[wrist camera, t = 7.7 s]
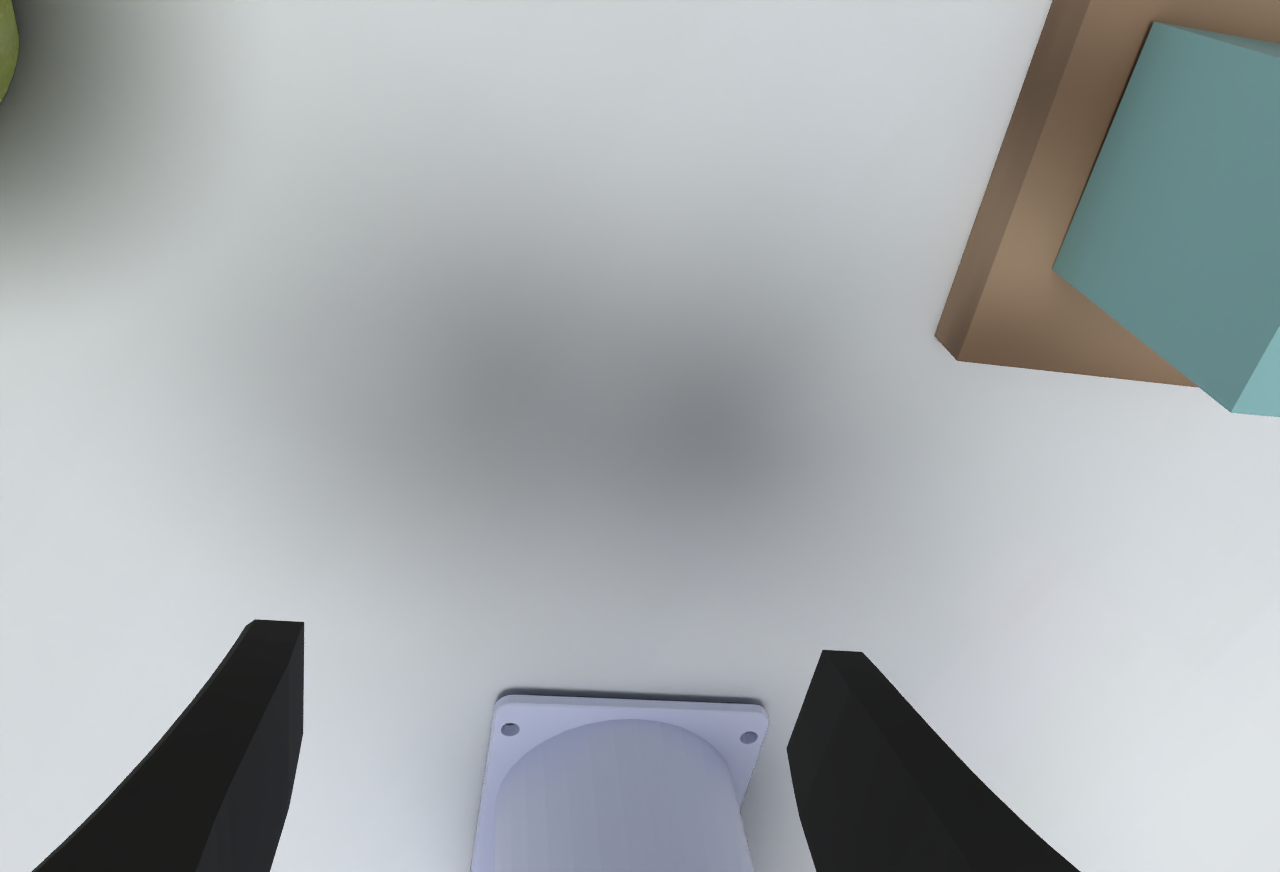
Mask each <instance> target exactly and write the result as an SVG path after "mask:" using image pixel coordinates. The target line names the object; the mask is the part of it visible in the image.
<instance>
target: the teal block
mask: <svg viewBox="0 0 1280 872" xmlns="http://www.w3.org/2000/svg"><path fill="white" fill-rule="evenodd" d="M1052 270H1053V271H1054V272H1056V273H1057V274H1058V275H1059V276H1061V277H1062V278H1063V279H1064V280H1066V281H1067V282H1068V283H1069V284H1071V285H1072V286H1073V287H1074V288H1076V289H1077V290H1078V291H1079V292H1081V293H1082V294H1083V295H1084V296H1086V297H1087V298H1088V299H1089V300H1091V301H1092V302H1093V303H1094V304H1096V305H1097V306H1098V307H1099V308H1101V309H1102V310H1103V311H1104V312H1106V313H1107V314H1108V315H1109V316H1111V317H1112V318H1113V319H1114V320H1116V321H1117V322H1118V323H1119V324H1121V325H1122V326H1123V327H1124V328H1126V329H1127V330H1128V331H1129V332H1131V333H1132V334H1133V335H1134V336H1136V337H1137V338H1138V339H1139V340H1141V341H1142V342H1143V343H1144V344H1146V345H1147V346H1148V347H1149V348H1151V349H1152V350H1153V351H1154V352H1156V353H1157V354H1158V355H1159V356H1161V357H1162V358H1163V359H1164V360H1166V361H1167V362H1168V363H1169V364H1171V365H1172V366H1173V367H1174V368H1176V369H1177V370H1178V371H1179V372H1181V373H1182V374H1183V375H1184V376H1186V377H1187V378H1188V379H1189V380H1191V381H1192V382H1193V383H1194V384H1196V385H1197V386H1198V387H1199V388H1201V389H1202V390H1203V391H1204V392H1206V393H1207V394H1208V395H1209V396H1211V397H1212V398H1213V399H1214V400H1216V401H1217V402H1218V403H1219V404H1221V405H1222V406H1223V407H1224V408H1226V409H1227V410H1228V411H1229V412H1231V413H1241V414H1252V415H1263V416H1274V417H1280V44H1279V43H1274V42H1268V41H1262V40H1257V39H1251V38H1245V37H1239V36H1234V35H1228V34H1222V33H1217V32H1211V31H1205V30H1200V29H1194V28H1188V27H1183V26H1177V25H1171V24H1166V23H1160V22H1153V25H1152V27H1151V30H1150V32H1149V35H1148V37H1147V39H1146V42H1145V44H1144V47H1143V49H1142V52H1141V54H1140V56H1139V59H1138V61H1137V64H1136V66H1135V69H1134V71H1133V73H1132V76H1131V78H1130V81H1129V83H1128V86H1127V88H1126V91H1125V93H1124V95H1123V98H1122V100H1121V103H1120V105H1119V108H1118V110H1117V112H1116V115H1115V117H1114V120H1113V122H1112V125H1111V127H1110V130H1109V132H1108V134H1107V137H1106V139H1105V142H1104V144H1103V147H1102V149H1101V151H1100V154H1099V156H1098V159H1097V161H1096V164H1095V166H1094V168H1093V171H1092V173H1091V176H1090V178H1089V181H1088V183H1087V186H1086V188H1085V190H1084V193H1083V195H1082V198H1081V200H1080V203H1079V205H1078V207H1077V210H1076V212H1075V215H1074V217H1073V220H1072V222H1071V224H1070V227H1069V229H1068V232H1067V234H1066V237H1065V239H1064V242H1063V244H1062V246H1061V249H1060V251H1059V254H1058V256H1057V259H1056V261H1055V263H1054V266H1053V268H1052Z"/></svg>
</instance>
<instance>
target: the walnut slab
mask: <svg viewBox="0 0 1280 872" xmlns="http://www.w3.org/2000/svg"><path fill="white" fill-rule="evenodd" d="M1153 22H1160V23H1166V24H1171V25H1177V26H1183V27H1188V28H1194V29H1200V30H1205V31H1211V32H1217V33H1222V34H1228V35H1234V36H1239V37H1245V38H1251V39H1257V40H1262V41H1268V42H1274V43H1279V44H1280V0H1053V1H1052V4H1051V7H1050V10H1049V13H1048V15H1047V18H1046V21H1045V24H1044V27H1043V30H1042V32H1041V35H1040V38H1039V41H1038V44H1037V47H1036V49H1035V52H1034V55H1033V58H1032V61H1031V64H1030V66H1029V69H1028V72H1027V75H1026V78H1025V81H1024V83H1023V86H1022V89H1021V92H1020V95H1019V98H1018V100H1017V103H1016V106H1015V109H1014V112H1013V115H1012V117H1011V120H1010V123H1009V126H1008V129H1007V132H1006V134H1005V137H1004V140H1003V143H1002V146H1001V149H1000V151H999V154H998V157H997V160H996V163H995V165H994V168H993V171H992V174H991V177H990V180H989V182H988V185H987V188H986V191H985V194H984V197H983V199H982V202H981V205H980V208H979V211H978V214H977V216H976V219H975V222H974V225H973V228H972V231H971V233H970V236H969V239H968V242H967V245H966V248H965V250H964V253H963V256H962V259H961V262H960V265H959V267H958V270H957V273H956V276H955V279H954V282H953V284H952V287H951V290H950V293H949V296H948V299H947V301H946V304H945V307H944V310H943V313H942V315H941V318H940V321H939V324H938V327H937V330H936V332H935V335H934V336H935V337H936V338H937V339H938V340H939V341H940V342H941V344H942V345H943V346H944V347H945V348H946V349H947V350H948V351H949V352H950V353H951V355H952V356H953V357H954V358H955V359H956V360H957V361H963V362H973V363H982V364H991V365H1000V366H1009V367H1018V368H1027V369H1036V370H1045V371H1054V372H1063V373H1073V374H1082V375H1091V376H1100V377H1109V378H1118V379H1127V380H1136V381H1145V382H1154V383H1163V384H1173V385H1182V386H1191V387H1198V386H1197V385H1196V384H1194V383H1193V382H1192V381H1191V380H1189V379H1188V378H1187V377H1186V376H1184V375H1183V374H1182V373H1181V372H1179V371H1178V370H1177V369H1176V368H1174V367H1173V366H1172V365H1171V364H1169V363H1168V362H1167V361H1166V360H1164V359H1163V358H1162V357H1161V356H1159V355H1158V354H1157V353H1156V352H1154V351H1153V350H1152V349H1151V348H1149V347H1148V346H1147V345H1146V344H1144V343H1143V342H1142V341H1141V340H1139V339H1138V338H1137V337H1136V336H1134V335H1133V334H1132V333H1131V332H1129V331H1128V330H1127V329H1126V328H1124V327H1123V326H1122V325H1121V324H1119V323H1118V322H1117V321H1116V320H1114V319H1113V318H1112V317H1111V316H1109V315H1108V314H1107V313H1106V312H1104V311H1103V310H1102V309H1101V308H1099V307H1098V306H1097V305H1096V304H1094V303H1093V302H1092V301H1091V300H1089V299H1088V298H1087V297H1086V296H1084V295H1083V294H1082V293H1081V292H1079V291H1078V290H1077V289H1076V288H1074V287H1073V286H1072V285H1071V284H1069V283H1068V282H1067V281H1066V280H1064V279H1063V278H1062V277H1061V276H1059V275H1058V274H1057V273H1056V272H1054V271H1053V270H1052V268H1053V266H1054V263H1055V261H1056V259H1057V256H1058V254H1059V251H1060V249H1061V246H1062V244H1063V242H1064V239H1065V237H1066V234H1067V232H1068V229H1069V227H1070V224H1071V222H1072V220H1073V217H1074V215H1075V212H1076V210H1077V207H1078V205H1079V203H1080V200H1081V198H1082V195H1083V193H1084V190H1085V188H1086V186H1087V183H1088V181H1089V178H1090V176H1091V173H1092V171H1093V168H1094V166H1095V164H1096V161H1097V159H1098V156H1099V154H1100V151H1101V149H1102V147H1103V144H1104V142H1105V139H1106V137H1107V134H1108V132H1109V130H1110V127H1111V125H1112V122H1113V120H1114V117H1115V115H1116V112H1117V110H1118V108H1119V105H1120V103H1121V100H1122V98H1123V95H1124V93H1125V91H1126V88H1127V86H1128V83H1129V81H1130V78H1131V76H1132V73H1133V71H1134V69H1135V66H1136V64H1137V61H1138V59H1139V56H1140V54H1141V52H1142V49H1143V47H1144V44H1145V42H1146V39H1147V37H1148V35H1149V32H1150V30H1151V27H1152V25H1153Z"/></svg>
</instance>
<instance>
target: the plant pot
mask: <svg viewBox="0 0 1280 872" xmlns="http://www.w3.org/2000/svg"><path fill="white" fill-rule="evenodd" d="M18 50H19V35H18V30H17V25H16V19H15V14H14V10H13V5H12V1H11V0H0V103H1V101H2V99H3V97H4V96H5V94H6V92H7V89H8V87H9V85H10V83H11V80H12V77H13V74H14V71H15V68H16V63H17V59H18Z"/></svg>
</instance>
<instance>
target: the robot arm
mask: <svg viewBox="0 0 1280 872" xmlns="http://www.w3.org/2000/svg"><path fill="white" fill-rule="evenodd" d="M303 689H304V622H292V621H273V620H254V621H252V622H251V623H249V624H248V625H246V627H245V628H244V630H243V631H242V633H241V634H240V636H239V638H238V639H237V641H236V642H235V644H234V645H233V646H232V648H231V649H230V651H229V652H228V654H227V655H226V657H225V658H224V659H223V661H222V662H221V664H220V665H219V666H218V668H217V669H216V670H215V672H214V673H213V674H212V676H211V677H210V678H209V680H208V681H207V682H206V684H205V685H204V686H203V688H202V689H201V690H200V691H199V693H198V694H197V695H196V697H195V698H194V699H193V701H192V702H191V703H190V704H189V705H188V707H187V708H186V709H185V710H184V711H183V713H182V714H181V715H180V716H179V717H178V719H177V720H176V721H175V722H174V724H173V725H172V726H171V727H170V728H169V730H168V731H167V732H166V733H165V734H164V736H163V737H162V738H161V739H160V741H159V742H158V743H157V744H156V745H155V746H154V747H153V749H152V750H151V751H150V752H149V753H148V754H147V755H146V756H145V758H144V759H143V760H142V761H141V762H140V763H139V764H138V765H137V766H136V767H135V768H134V770H133V771H132V772H131V773H130V774H129V775H128V776H127V777H126V778H125V779H124V780H123V781H122V783H121V784H120V785H119V786H118V787H117V788H116V789H115V790H114V791H113V792H112V793H111V795H110V796H109V797H108V798H107V799H106V800H105V801H104V802H103V803H102V804H101V805H100V806H99V807H98V808H97V809H96V810H95V811H94V812H93V813H92V814H91V815H90V816H89V817H88V818H87V819H86V820H85V821H84V822H83V823H82V824H81V825H80V826H79V827H78V828H77V829H76V830H75V831H74V832H73V833H72V834H71V835H70V836H69V837H68V838H67V839H66V840H65V841H64V842H63V843H62V844H61V845H60V846H59V847H58V848H56V849H55V850H54V851H53V852H52V853H51V854H50V855H49V856H48V857H47V858H46V859H45V860H44V861H43V862H42V863H40V864H39V865H38V866H37V867H36V868H35V869H34V870H33V871H32V872H270V869H271V866H272V863H273V859H274V856H275V853H276V849H277V846H278V843H279V839H280V836H281V833H282V829H283V826H284V823H285V819H286V816H287V813H288V809H289V805H290V800H291V795H292V789H293V784H294V779H295V774H296V769H297V763H298V758H299V752H300V747H301V741H302V736H303ZM507 723H514V725H505V724H507ZM768 726H769V718H768V715H767V712H766V710H765V708H763V707H762V706H759V705H754V704H731V703H707V702H682V701H658V700H634V699H609V698H585V697H561V696H536V695H507V696H504V697H502V698H500V699H499V700H498V701H497V702H496V704H495V706H494V712H493V719H492V726H491V733H490V739H489V746H488V753H487V760H486V767H485V774H484V780H483V787H482V794H481V801H480V808H479V815H478V821H477V828H476V835H475V842H474V849H473V856H472V862H471V869H470V872H755V871H754V867H753V863H752V859H751V855H750V851H749V847H748V843H747V839H746V835H745V831H744V826H743V822H742V818H741V814H740V807H741V804H742V801H743V798H744V795H745V792H746V789H747V787H748V784H749V781H750V778H751V775H752V772H753V769H754V766H755V764H756V761H757V758H758V755H759V752H760V749H761V746H762V743H763V741H764V738H765V735H766V732H767V729H768ZM750 731H751V732H750ZM746 732H749V733H746ZM744 733H745V734H744ZM787 753H788V759H789V765H790V771H791V777H792V782H793V788H794V793H795V798H796V803H797V807H798V812H799V817H800V820H801V824H802V827H803V830H804V834H805V837H806V840H807V843H808V846H809V849H810V852H811V856H812V859H813V862H814V865H815V868H816V871H817V872H1080V871H1079V870H1078V869H1077V868H1075V867H1074V866H1073V865H1072V864H1071V863H1070V862H1068V861H1067V860H1066V859H1065V858H1064V857H1063V856H1061V855H1060V854H1059V853H1058V852H1057V851H1055V850H1054V849H1053V848H1052V847H1051V846H1050V845H1048V844H1047V843H1046V842H1045V841H1044V840H1043V839H1042V838H1041V837H1040V836H1038V835H1037V834H1036V833H1035V832H1034V831H1033V830H1032V829H1031V828H1030V827H1029V826H1027V825H1026V824H1025V823H1024V822H1023V821H1022V820H1021V819H1020V818H1019V817H1018V816H1017V815H1016V814H1015V813H1014V812H1013V811H1012V810H1011V809H1010V808H1009V807H1008V806H1007V805H1006V804H1005V803H1003V802H1002V801H1001V800H1000V799H999V798H998V797H997V796H996V795H995V794H994V793H993V792H992V791H991V790H990V789H989V788H988V787H987V786H986V785H985V784H984V783H983V782H982V781H981V780H980V779H979V778H978V777H977V776H976V775H975V774H974V773H973V772H972V771H971V770H970V769H969V768H968V767H967V765H966V764H965V763H964V762H963V761H962V760H961V759H960V758H959V757H958V756H957V755H956V754H955V753H954V752H953V751H952V750H951V749H950V748H949V746H948V745H947V744H946V743H945V742H944V741H943V740H942V739H941V738H940V737H939V736H938V735H937V734H936V732H935V731H934V730H933V729H932V728H931V727H930V726H929V725H928V724H927V723H926V722H925V720H924V719H923V718H922V717H921V716H920V715H919V714H918V713H917V712H916V710H915V709H914V708H913V707H912V706H911V705H910V704H909V703H908V702H907V701H906V699H905V698H904V697H903V696H902V695H901V694H900V693H899V692H898V690H897V689H896V688H895V687H894V686H893V685H892V684H891V683H890V682H889V680H888V679H887V678H886V677H885V676H884V675H883V674H882V673H881V672H880V671H879V669H878V668H877V667H876V666H875V665H874V664H873V663H872V662H871V661H870V660H869V659H868V658H867V657H866V656H865V655H864V654H863V653H862V652H853V651H834V650H822V653H821V656H820V659H819V661H818V664H817V667H816V670H815V672H814V675H813V678H812V680H811V683H810V686H809V689H808V691H807V694H806V697H805V700H804V702H803V705H802V708H801V710H800V713H799V716H798V719H797V721H796V724H795V727H794V730H793V732H792V735H791V738H790V740H789V743H788V746H787Z"/></svg>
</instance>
